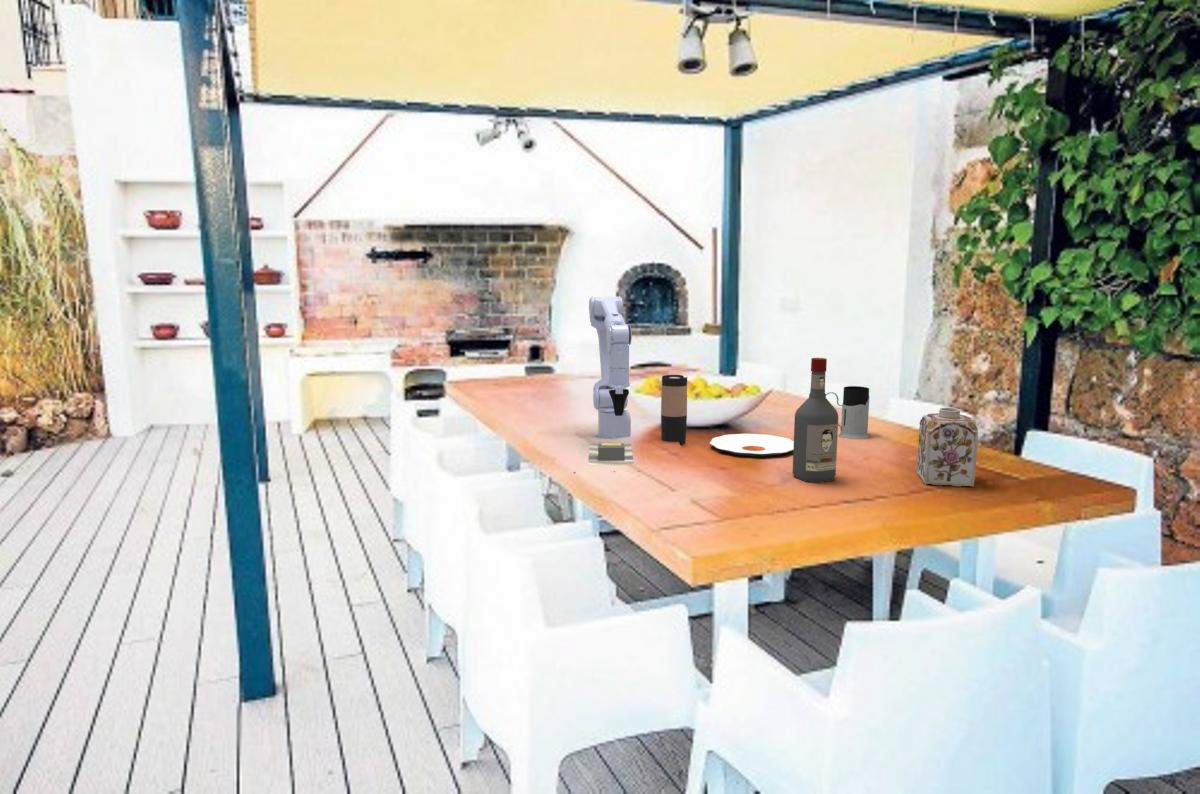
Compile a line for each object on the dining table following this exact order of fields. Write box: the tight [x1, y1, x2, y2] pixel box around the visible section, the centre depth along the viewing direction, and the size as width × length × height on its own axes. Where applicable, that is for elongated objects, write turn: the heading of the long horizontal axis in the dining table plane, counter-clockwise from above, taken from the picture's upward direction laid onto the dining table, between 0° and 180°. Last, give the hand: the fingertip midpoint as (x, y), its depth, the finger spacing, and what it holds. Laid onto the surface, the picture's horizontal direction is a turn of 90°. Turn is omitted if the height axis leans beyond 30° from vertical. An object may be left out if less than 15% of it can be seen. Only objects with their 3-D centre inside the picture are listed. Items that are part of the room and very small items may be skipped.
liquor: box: [792, 357, 839, 483], centre depth 203 cm, size 9×9×30 cm
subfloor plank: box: [587, 443, 635, 466], centre depth 225 cm, size 24×12×1 cm, turn 0°
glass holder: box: [825, 385, 870, 440], centre depth 252 cm, size 9×14×15 cm, turn 89°
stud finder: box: [597, 442, 625, 461], centre depth 220 cm, size 5×7×4 cm
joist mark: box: [587, 455, 634, 460], centre depth 220 cm, size 4×12×1 cm, turn 90°
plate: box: [709, 433, 794, 458], centre depth 236 cm, size 25×25×2 cm
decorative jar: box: [916, 407, 979, 487], centre depth 201 cm, size 12×12×18 cm
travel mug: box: [660, 374, 688, 446], centre depth 242 cm, size 8×8×20 cm
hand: (618, 415), depth 231 cm, fingers closed
